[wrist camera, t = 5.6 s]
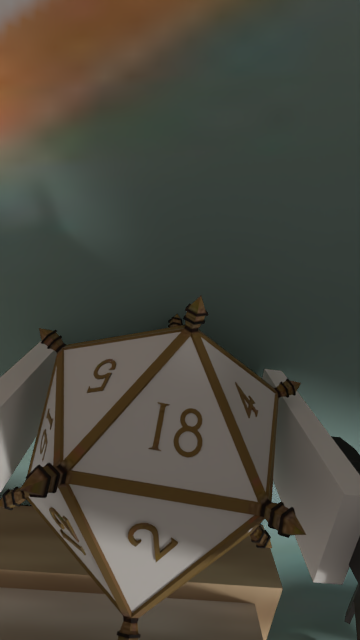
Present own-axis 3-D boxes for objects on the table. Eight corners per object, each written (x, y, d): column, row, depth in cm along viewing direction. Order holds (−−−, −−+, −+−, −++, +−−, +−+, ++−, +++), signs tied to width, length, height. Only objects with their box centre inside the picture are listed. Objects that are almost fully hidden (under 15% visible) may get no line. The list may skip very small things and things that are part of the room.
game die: (190, 324, 17) (416, 350, 9) (156, 489, 16) (368, 671, 8) (5, 273, 12) (164, 223, 4) (-60, 516, 11) (-32, 1104, 3)
